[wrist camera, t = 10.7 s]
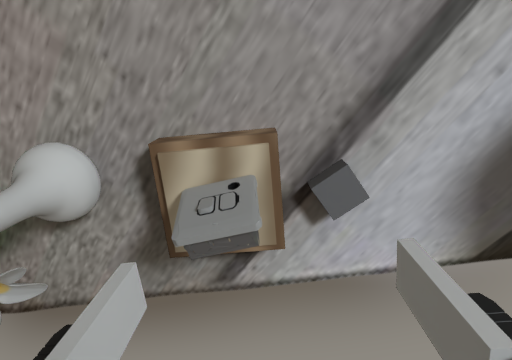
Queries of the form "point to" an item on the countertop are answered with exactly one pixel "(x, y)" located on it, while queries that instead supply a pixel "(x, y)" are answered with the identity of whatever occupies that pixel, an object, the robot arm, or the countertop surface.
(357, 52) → the countertop surface
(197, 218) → the electrical switch
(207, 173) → the wooden box
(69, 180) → the flower vase
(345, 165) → the rubber block
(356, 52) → the countertop surface
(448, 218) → the countertop surface
